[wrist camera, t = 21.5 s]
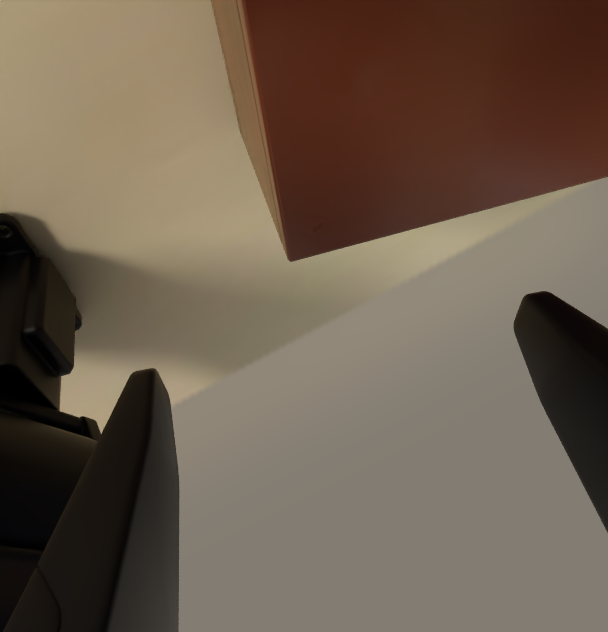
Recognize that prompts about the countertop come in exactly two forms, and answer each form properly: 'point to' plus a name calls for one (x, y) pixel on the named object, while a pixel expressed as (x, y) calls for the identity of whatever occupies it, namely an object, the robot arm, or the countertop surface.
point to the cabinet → (413, 108)
